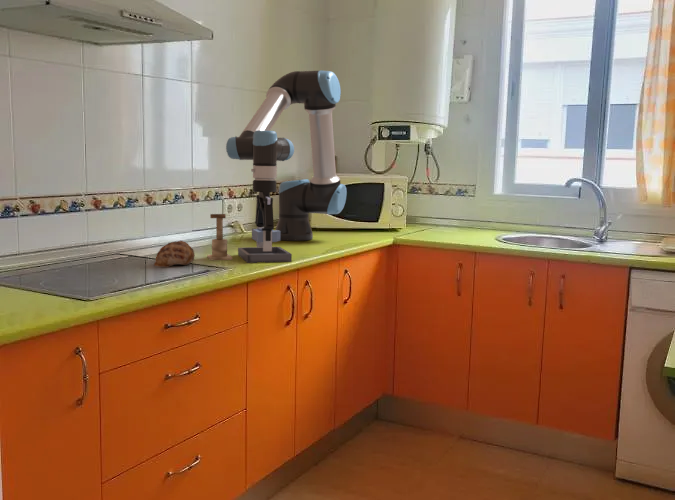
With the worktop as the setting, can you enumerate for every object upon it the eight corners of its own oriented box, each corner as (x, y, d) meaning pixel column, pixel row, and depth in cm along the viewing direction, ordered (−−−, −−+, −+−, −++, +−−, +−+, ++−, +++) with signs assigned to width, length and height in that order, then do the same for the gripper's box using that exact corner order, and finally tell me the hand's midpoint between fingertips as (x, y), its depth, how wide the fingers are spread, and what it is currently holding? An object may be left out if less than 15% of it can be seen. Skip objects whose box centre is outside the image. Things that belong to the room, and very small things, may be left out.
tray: (279, 254, 244) (279, 246, 244) (291, 261, 228) (291, 253, 228) (238, 255, 240) (238, 247, 240) (247, 263, 224) (247, 255, 224)
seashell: (175, 258, 226) (186, 232, 222) (192, 276, 222) (203, 250, 218) (147, 261, 217) (159, 235, 213) (165, 280, 213) (177, 253, 209)
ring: (251, 238, 237) (251, 228, 237) (275, 238, 239) (275, 228, 239) (257, 242, 228) (257, 232, 228) (281, 241, 230) (281, 231, 230)
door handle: (228, 256, 237) (228, 213, 235) (232, 259, 230) (232, 215, 228) (207, 257, 235) (207, 213, 233) (210, 260, 228) (210, 215, 226)
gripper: (246, 177, 240) (246, 244, 243) (260, 180, 219) (259, 253, 222) (268, 178, 242) (268, 244, 245) (284, 181, 221) (283, 253, 224)
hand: (264, 248), depth 234 cm, fingers closed on ring, 10 cm apart
